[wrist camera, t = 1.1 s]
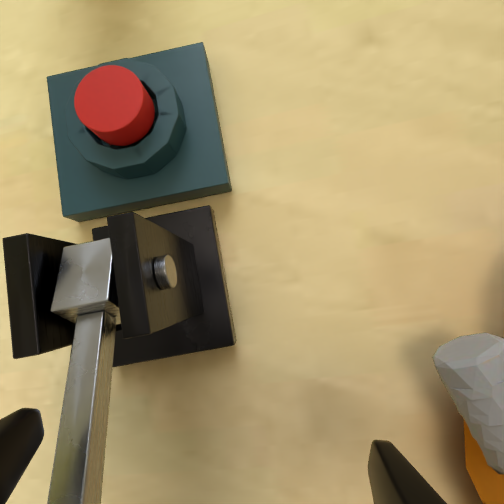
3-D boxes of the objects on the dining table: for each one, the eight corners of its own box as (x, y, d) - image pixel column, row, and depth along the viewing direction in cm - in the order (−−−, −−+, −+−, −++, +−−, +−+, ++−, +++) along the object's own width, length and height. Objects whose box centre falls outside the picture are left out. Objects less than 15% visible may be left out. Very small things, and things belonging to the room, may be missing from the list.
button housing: (232, 191, 21) (224, 172, 18) (78, 222, 21) (41, 209, 18) (207, 60, 22) (196, 18, 19) (62, 92, 23) (25, 56, 19)
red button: (159, 139, 18) (148, 123, 17) (95, 152, 19) (77, 138, 17) (150, 78, 19) (137, 57, 17) (87, 92, 19) (69, 72, 17)
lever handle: (146, 638, 9) (75, 739, 6) (37, 654, 9) (-84, 760, 6) (154, 265, 15) (122, 228, 12) (90, 278, 15) (43, 243, 12)
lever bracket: (236, 341, 20) (203, 395, 10) (118, 363, 20) (-24, 435, 10) (213, 209, 21) (163, 143, 11) (101, 231, 21) (-42, 186, 12)
